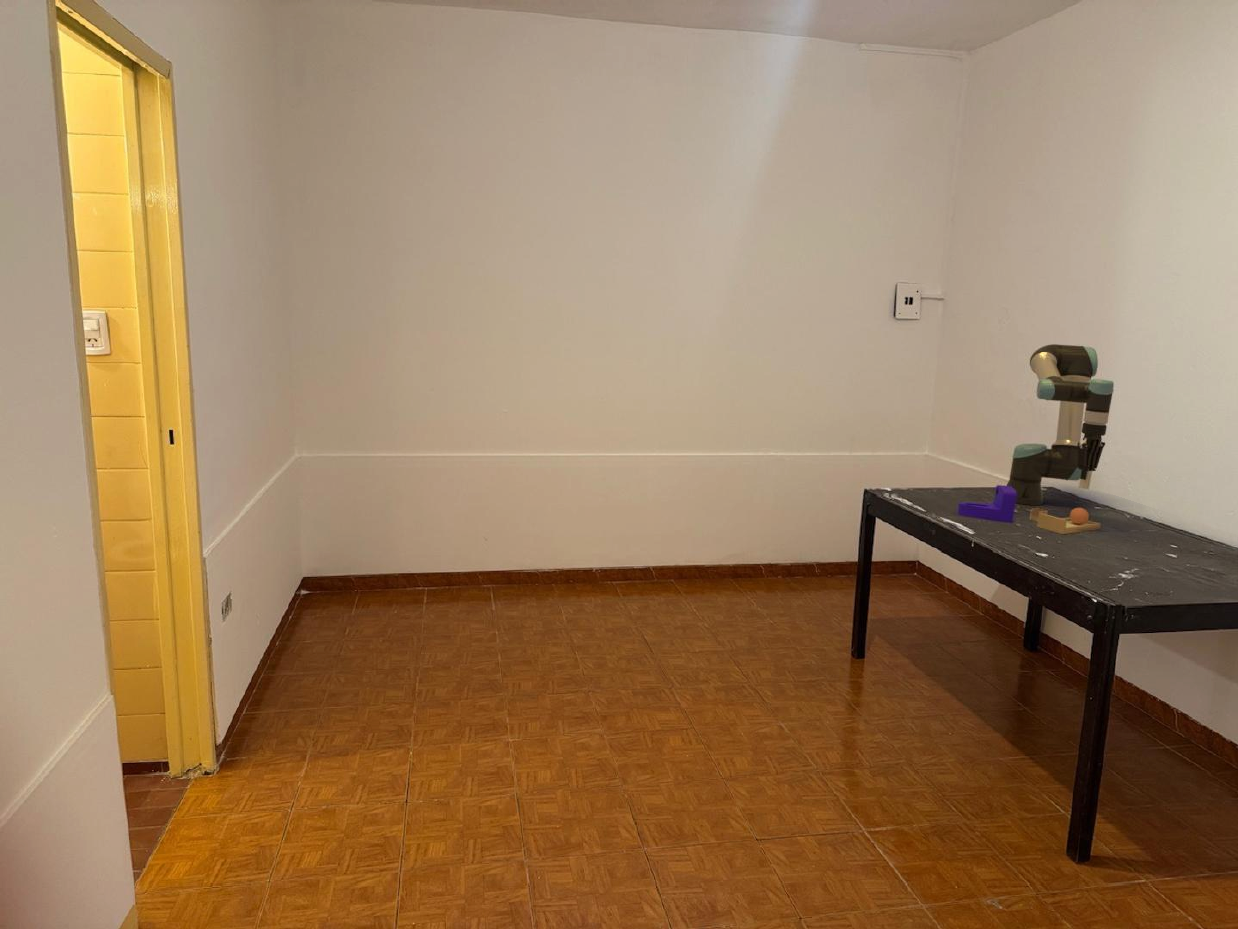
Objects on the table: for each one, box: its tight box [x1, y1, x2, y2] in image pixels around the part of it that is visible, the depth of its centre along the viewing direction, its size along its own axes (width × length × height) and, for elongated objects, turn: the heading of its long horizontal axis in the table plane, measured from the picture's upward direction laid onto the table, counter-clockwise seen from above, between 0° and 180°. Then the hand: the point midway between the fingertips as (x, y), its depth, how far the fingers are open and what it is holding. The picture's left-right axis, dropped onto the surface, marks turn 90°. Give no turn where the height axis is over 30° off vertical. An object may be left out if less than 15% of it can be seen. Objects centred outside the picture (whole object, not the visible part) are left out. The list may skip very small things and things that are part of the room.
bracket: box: [957, 484, 1017, 524], centre depth 319 cm, size 18×11×12 cm, turn 80°
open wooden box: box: [1029, 507, 1049, 523], centre depth 319 cm, size 4×4×4 cm
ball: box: [1069, 507, 1090, 524], centre depth 313 cm, size 6×6×6 cm
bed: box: [1036, 513, 1101, 535], centre depth 310 cm, size 22×10×5 cm, turn 119°
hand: (1083, 488), depth 311 cm, fingers closed
